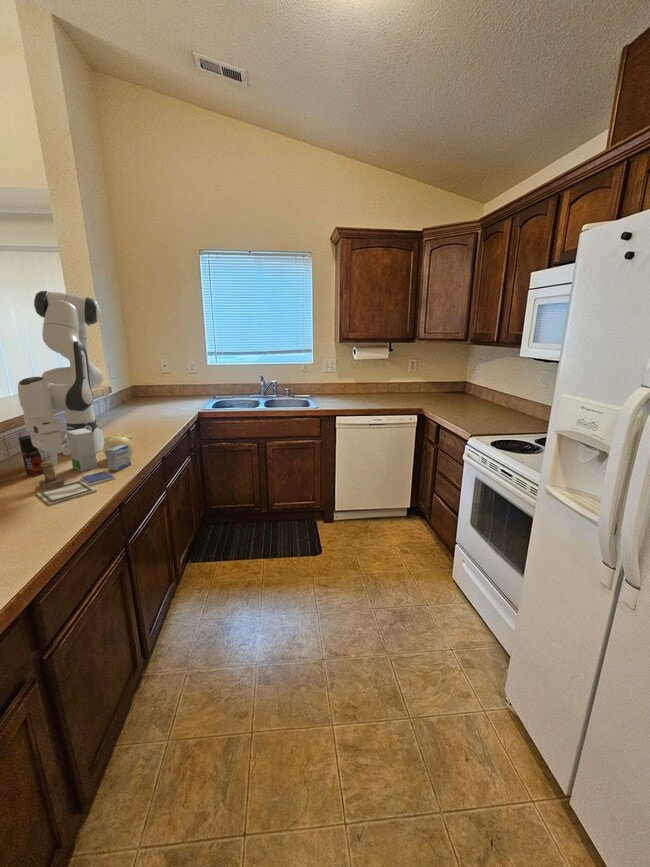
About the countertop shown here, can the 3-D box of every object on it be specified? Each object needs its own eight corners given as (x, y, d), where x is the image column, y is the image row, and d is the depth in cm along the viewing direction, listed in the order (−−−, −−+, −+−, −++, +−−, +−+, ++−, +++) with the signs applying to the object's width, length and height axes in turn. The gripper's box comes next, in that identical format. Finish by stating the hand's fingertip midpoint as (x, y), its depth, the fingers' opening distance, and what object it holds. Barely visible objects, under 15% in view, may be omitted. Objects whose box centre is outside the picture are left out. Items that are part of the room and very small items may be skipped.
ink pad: (80, 480, 144) (79, 477, 143) (105, 473, 150) (105, 470, 150) (89, 485, 138) (89, 482, 138) (115, 478, 145) (115, 475, 145)
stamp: (39, 486, 139) (34, 463, 136) (58, 481, 143) (54, 458, 141) (44, 490, 135) (39, 466, 133) (64, 485, 139) (59, 462, 137)
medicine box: (118, 471, 153) (114, 450, 150) (108, 470, 154) (105, 449, 151) (131, 464, 160) (128, 444, 158) (122, 463, 161) (119, 444, 159)
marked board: (36, 494, 132) (35, 491, 131) (81, 482, 142) (81, 479, 142) (49, 505, 123) (48, 503, 123) (96, 491, 133) (96, 489, 133)
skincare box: (72, 467, 157) (65, 431, 153) (89, 463, 162) (83, 427, 158) (82, 472, 152) (74, 434, 148) (99, 467, 157) (92, 430, 153)
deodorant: (25, 477, 147) (16, 440, 143) (28, 472, 152) (20, 436, 148) (44, 474, 150) (36, 437, 146) (46, 469, 155) (39, 434, 151)
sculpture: (136, 452, 175) (132, 430, 172) (132, 461, 164) (128, 437, 161) (108, 455, 172) (104, 432, 169) (102, 464, 161) (98, 439, 158)
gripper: (21, 422, 137) (30, 459, 141) (40, 430, 125) (49, 470, 128) (42, 419, 142) (50, 454, 145) (62, 426, 129) (70, 464, 133)
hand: (49, 462), depth 137 cm, fingers open, 8 cm apart
